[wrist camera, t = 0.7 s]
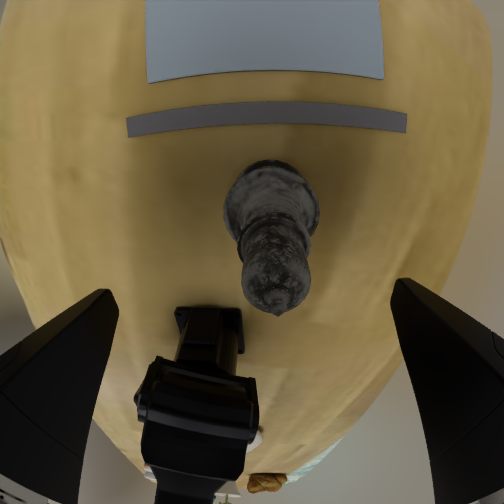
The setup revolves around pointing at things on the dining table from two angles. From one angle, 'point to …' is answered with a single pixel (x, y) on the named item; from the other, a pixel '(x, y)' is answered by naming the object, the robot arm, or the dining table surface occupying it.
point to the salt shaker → (272, 233)
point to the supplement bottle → (149, 472)
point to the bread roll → (265, 482)
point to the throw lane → (263, 57)
